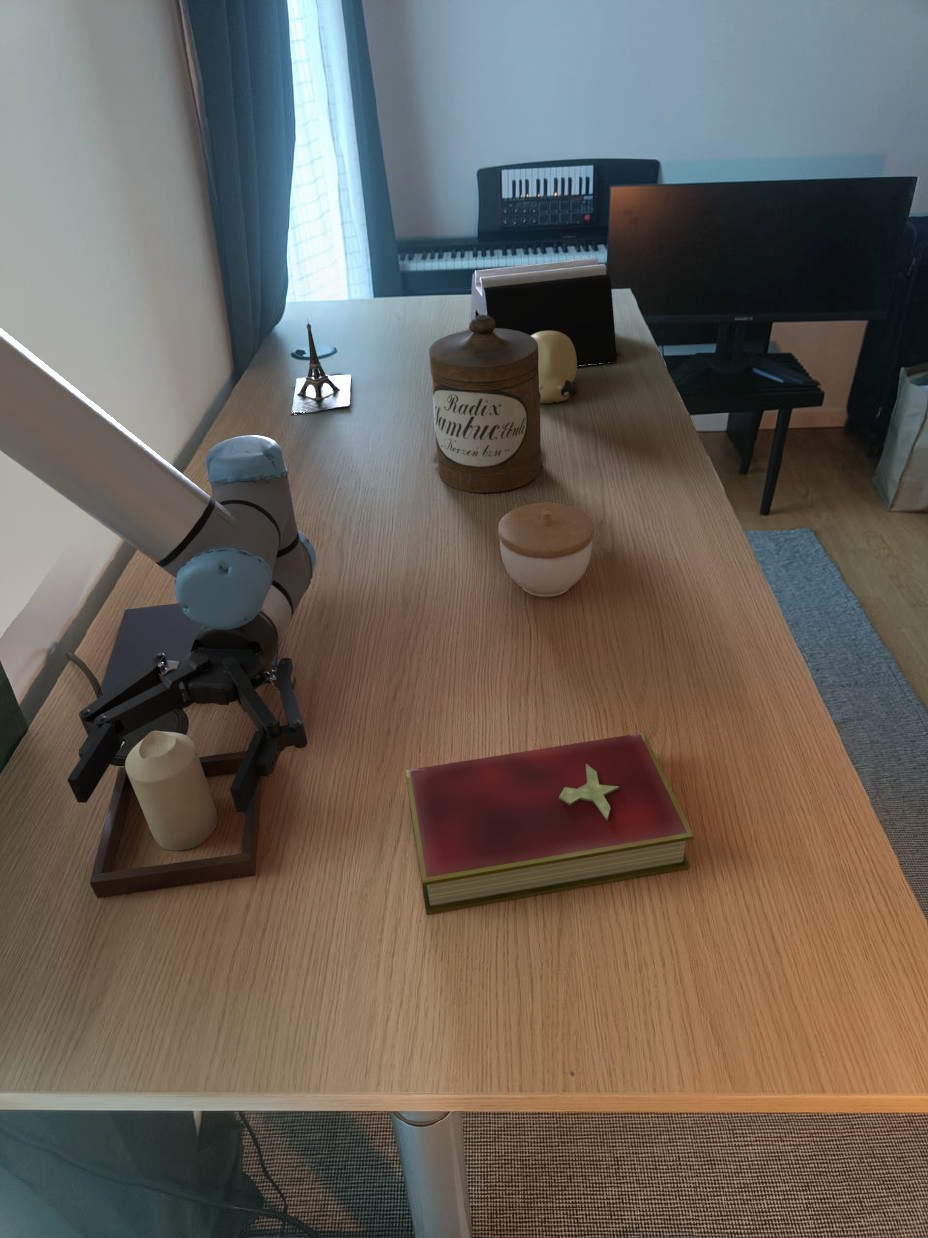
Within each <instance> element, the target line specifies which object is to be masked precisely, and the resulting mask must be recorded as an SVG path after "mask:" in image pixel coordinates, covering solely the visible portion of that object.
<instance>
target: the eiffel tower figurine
mask: <svg viewBox="0 0 928 1238" xmlns="http://www.w3.org/2000/svg"><path fill="white" fill-rule="evenodd" d="M306 319H307V320H309V318H307V317H306ZM306 330H307V337H308V338H307V339H308V348H309V362H308V365H309V366H308V373H307V376H306V375H305V377H297V378H296V383H295V389H294V395H293V400H292V406H291V412H292V411H293V412H294V413H295V412H300V413H302V412H303V413H302V414H308V413H315V412H321V411H325V410H329V409H335V408H342V407H349V406H351V405H350V404H351V402H350V401H351V380H352V374H343V375H342V374H340V375H329V374H327V373H326V372H325V371H324V369H323V367H322V365H321V361H320V360H319V357H318V353H317V349H316V346H315V341H314V337H313V333H312V325H311V324H310V322H307V324H306ZM293 412H292V413H293ZM305 412H306V413H305Z"/></svg>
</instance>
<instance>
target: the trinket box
mask: <svg viewBox="0 0 928 1238" xmlns="http://www.w3.org/2000/svg"><path fill="white" fill-rule="evenodd" d="M497 529H498V530H497V531H498V532H497V533H498V538H499V550H500V555H501V560H502V563H503V565H504V569H505V570H506V572H507V575H508V576H509V577H510V578H511V580H512V581H513V582H514V583H515V584H517V585H518V586H519V587H520V588H521V589H522V590H523V591H524V592H525V593H527V594H529V595H531V596H535V597H539V598H552V597H553V598H554V597H557V596H561V595H563V594H565V593H567V592H568V591H569V590H570V589H571V588H572V587H573V586H574V585H575V584H577V583H578V582H579V581H580V580H581V578H583V576H584V575H585V573H586V571H587V569H588V566H589V564H590V562H591V557H592V552H593V544H594V536H595V523H594V521H593V519H592V517H591V516H590V515H588V513H587V512H585V511H584V510H582V509H581V508H578V507H576V506H572V505H569V504H567V503H559V502H550V501H549V502H534V503H528V504H525V505H521V506H519V507H516V508H514V509H511V510H509V511H508V512H507V513H506V514H505V515H503V517H501V519H500V521H499V523H498V528H497Z"/></svg>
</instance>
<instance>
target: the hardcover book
mask: <svg viewBox="0 0 928 1238" xmlns="http://www.w3.org/2000/svg"><path fill="white" fill-rule="evenodd" d="M404 772H405V779H406V786H407V793H408V794H407V795H408V801H409V808H410V809H409V810H410V815H411V821H412V828H413V834H414V842H415V849H416V855H417V861H418V868H419V874H420V875H419V876H420V881H421V888H422V894H423V895H422V896H423V902H424V909H425V914H426V915H432V914H438V913H443V912H448V911H455V910H460V909H466V908H472V907H478V906H483V905H488V904H495V903H500V902H506V901H507V902H508V901H511V900H518V899H524V898H528V897H529V898H530V897H534V896H541V895H545V894H552V893H557V892H563V891H568V890H575V889H581V888H586V887H593V886H597V885H602V884H609V883H610V884H611V883H615V882H619V881H620V882H621V881H627V880H632V879H637V878H642V877H643V878H644V877H649V876H650V877H651V876H654V875H660V874H667V873H672V872H677V871H683V870H688V869H690V864H689V862H688V859H687V857H686V855H685V850H686V844H687V841H693V840H695V839H694V838H695V835H694V833H693V831H692V829H691V827H690V825H689V823H688V820H687V819H686V816H685V814H684V812H683V810H682V808H681V806H680V804H679V802H678V800H677V798H676V795H675V794H674V792H673V789H672V788H671V785H670V783H669V781H668V779H667V777H666V775H665V772H664V771H663V769H662V766H661V764H660V762H659V760H658V758H657V756H656V754H655V752H654V749H653V747H652V745H651V743H650V741H649V739H648V737H647V735H646V733H645V732H638V733H631V734H626V735H619V736H614V737H607V738H601V739H595V740H588V741H582V742H576V743H569V744H562V745H557V746H550V747H543V748H538V749H537V748H536V749H530V750H526V751H525V750H524V751H519V752H513V753H506V754H499V755H493V756H486V757H481V758H480V757H479V758H475V759H467V760H462V761H456V762H448V763H442V764H437V765H436V764H435V765H430V766H424V767H418V768H417V767H416V768H412V769H405V770H404Z"/></svg>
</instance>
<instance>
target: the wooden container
mask: <svg viewBox="0 0 928 1238" xmlns="http://www.w3.org/2000/svg"><path fill="white" fill-rule="evenodd" d="M428 359H429V361H428V363H429V370H430V374H431V384H432V387H431V389H432V404H433V405H432V406H433V425H434V439H435V441H434V442H435V449H436V461H437V463H436V464H437V472H438V476H439V478H440V479H441V480H442V481H443V482H444V483H445V484H446V485H448V486H450V487H452V488H455V489H457V490H460V491H465V492H469V493H480V494H490V493H491V494H492V493H502V492H507V491H511V490H514V489H518V488H520V487H523V486H525V485H527V484H529V483H530V482H532V481H533V480H534V479H536V477H537V476H538V475H539V474H540V472H541V443H542V442H541V438H542V437H541V436H542V435H541V403H540V398H539V371H538V344H537V341H536V340H535V339H534V338H533V337H532V336H530V335H528V334H525V333H523V332H519V331H515V330H510V329H499V328H495V321H494V319H492V318H490V317H489V316H487V315H478V316H476V317H475V318H474V319H472V320H471V319H470V320H469V323H468V329H467V330H462V331H458V332H455V333H451V334H448V335H445V336H443V337H441V338H438V339H437V340H435V341H434V342H433V343H432V344H431V345H430V346H429V348H428Z"/></svg>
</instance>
